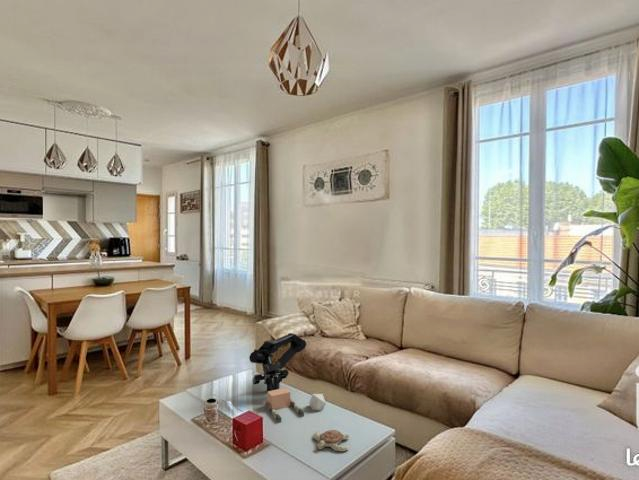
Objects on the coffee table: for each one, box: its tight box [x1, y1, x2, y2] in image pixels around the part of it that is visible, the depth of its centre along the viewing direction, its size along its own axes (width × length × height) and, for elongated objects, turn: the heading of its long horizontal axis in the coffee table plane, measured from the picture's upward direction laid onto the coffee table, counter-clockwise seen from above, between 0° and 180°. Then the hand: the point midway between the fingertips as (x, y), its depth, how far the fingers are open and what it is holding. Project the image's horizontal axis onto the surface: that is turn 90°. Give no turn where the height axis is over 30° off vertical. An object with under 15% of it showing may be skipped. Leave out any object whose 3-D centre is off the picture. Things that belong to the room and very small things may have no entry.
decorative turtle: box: [312, 429, 350, 452], centre depth 157 cm, size 18×17×5 cm
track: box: [264, 398, 305, 424], centre depth 182 cm, size 19×13×4 cm
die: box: [308, 393, 327, 411], centre depth 186 cm, size 8×9×10 cm
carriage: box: [266, 387, 291, 411], centre depth 188 cm, size 6×10×7 cm, turn 119°
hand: (274, 392), depth 192 cm, fingers closed
